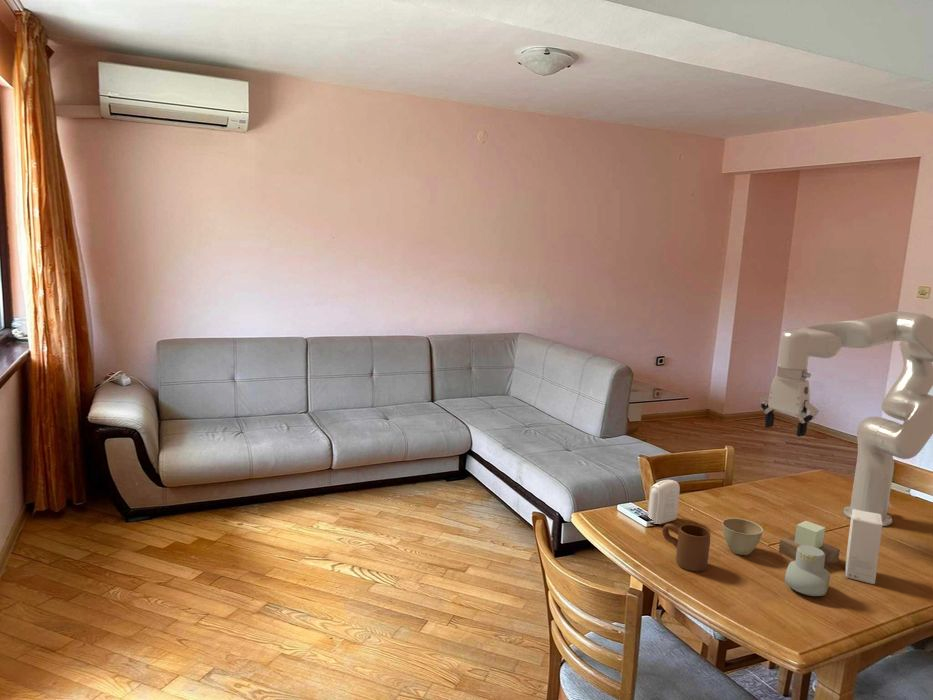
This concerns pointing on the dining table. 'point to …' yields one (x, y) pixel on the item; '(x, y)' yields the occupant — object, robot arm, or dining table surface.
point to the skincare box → (863, 546)
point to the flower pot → (741, 535)
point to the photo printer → (663, 501)
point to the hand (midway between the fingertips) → (784, 431)
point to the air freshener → (808, 572)
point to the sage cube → (809, 534)
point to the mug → (690, 545)
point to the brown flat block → (790, 548)
